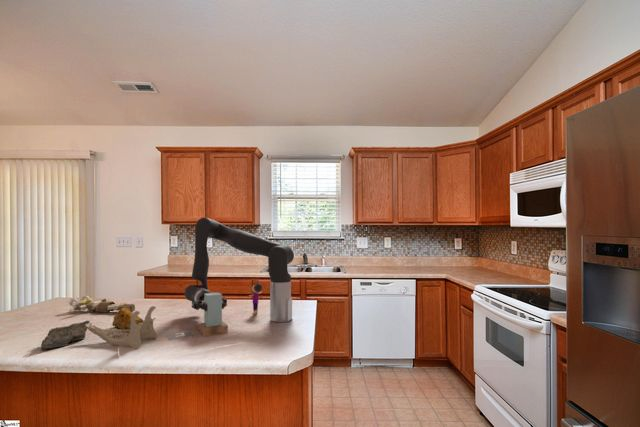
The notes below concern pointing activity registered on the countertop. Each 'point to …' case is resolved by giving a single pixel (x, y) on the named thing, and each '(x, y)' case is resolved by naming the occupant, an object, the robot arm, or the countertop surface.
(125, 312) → the rock
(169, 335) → the gray tile
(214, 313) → the block
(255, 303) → the toy
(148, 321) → the jawbone
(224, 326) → the stand
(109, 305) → the figurine
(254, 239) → the robot arm
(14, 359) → the countertop surface
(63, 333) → the rock
